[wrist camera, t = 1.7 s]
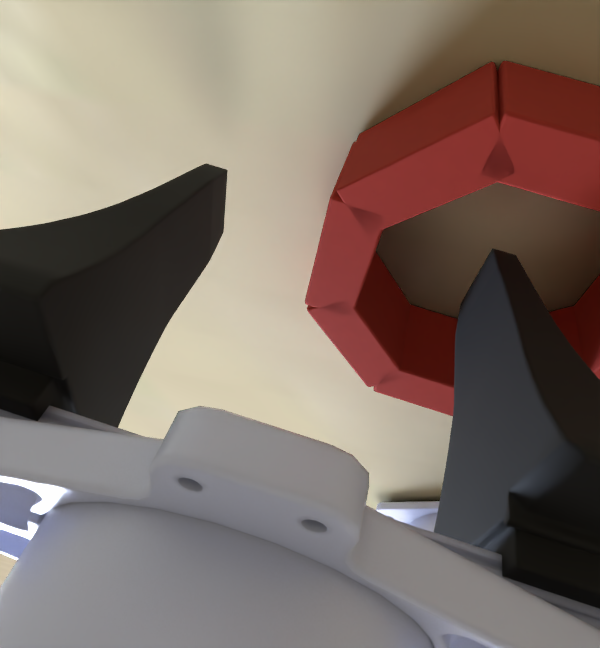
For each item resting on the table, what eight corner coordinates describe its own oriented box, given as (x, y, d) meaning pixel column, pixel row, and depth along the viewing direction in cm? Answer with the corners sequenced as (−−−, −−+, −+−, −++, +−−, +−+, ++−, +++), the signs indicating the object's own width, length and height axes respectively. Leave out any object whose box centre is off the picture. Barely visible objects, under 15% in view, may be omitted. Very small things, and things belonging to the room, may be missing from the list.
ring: (787, 136, 11) (855, 209, 9) (560, 381, 18) (569, 454, 16) (383, 26, 12) (360, 71, 10) (311, 303, 18) (289, 364, 16)
